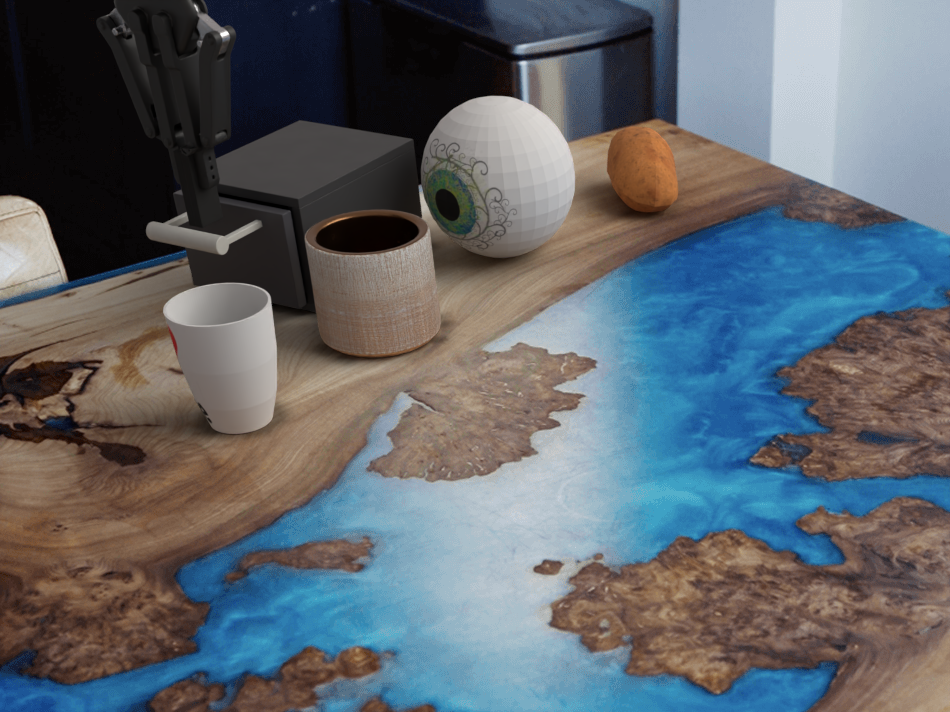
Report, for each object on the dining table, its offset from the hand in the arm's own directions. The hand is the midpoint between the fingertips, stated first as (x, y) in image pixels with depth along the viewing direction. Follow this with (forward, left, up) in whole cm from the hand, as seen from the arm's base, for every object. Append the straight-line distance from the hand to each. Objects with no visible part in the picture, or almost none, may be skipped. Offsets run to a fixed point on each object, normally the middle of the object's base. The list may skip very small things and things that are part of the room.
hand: (206, 221), depth 125 cm
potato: (+21, +43, -9) cm, 49 cm away
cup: (+14, -15, -9) cm, 22 cm away
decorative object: (+15, +24, -9) cm, 30 cm away
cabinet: (0, +13, -9) cm, 16 cm away
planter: (+15, +3, -9) cm, 18 cm away
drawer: (0, +8, -8) cm, 11 cm away
